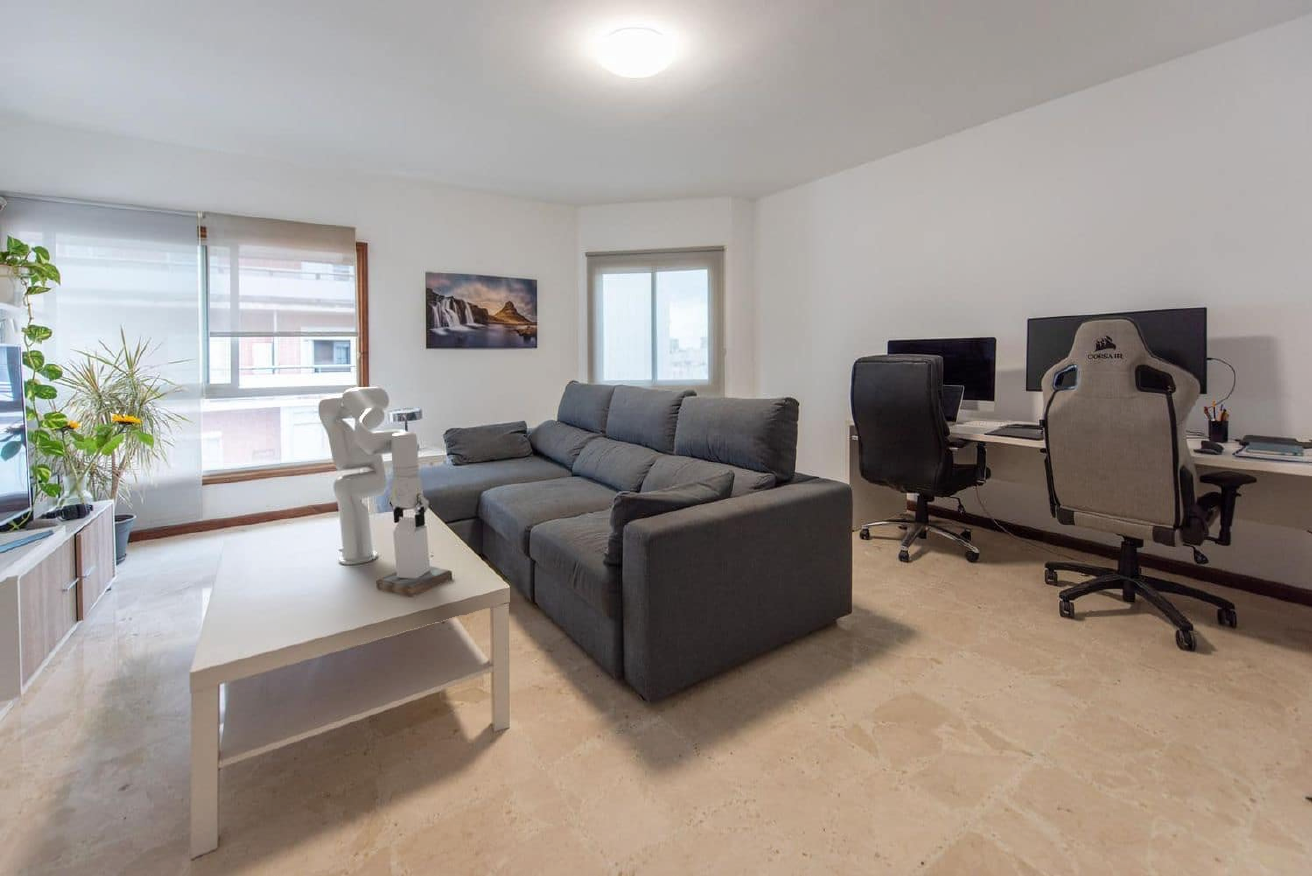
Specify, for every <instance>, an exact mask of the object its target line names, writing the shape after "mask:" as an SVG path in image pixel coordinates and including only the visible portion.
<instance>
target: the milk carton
mask: <svg viewBox="0 0 1312 876" xmlns="http://www.w3.org/2000/svg"><path fill="white" fill-rule="evenodd" d="M392 534H393V545H394V557H395V569H396V572H397V577H399V578H413V579H417V578H418V577H420V576H422V575H424V574H425V573H427V572H429V571H430V567H431V566H430V554H429V543H428V539H429V538H428V530H427V526H426V524H425V525H423V526H420V527H416V526H415V516H414V517H410V516H409V517H408V516H404V517H399V522H398V523H396V526H395V528H394V530H393V531H392Z"/></svg>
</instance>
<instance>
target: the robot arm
mask: <svg viewBox="0 0 1312 876" xmlns="http://www.w3.org/2000/svg"><path fill="white" fill-rule="evenodd" d="M389 404H390V398H389V395H388V393H387V392H386V390H385V389H383V388H382V387H380V386H367V387H366V386H365V387H353V388H349V389H346V391H344V392H343V394H337V395H329V396H326V397H324V398H322V399H321V400H320V401H319V402H318V409H317V410H318V416H319V418H320V419H319V420H320V422H321V424H322V425H323V428H324V430H325V431H326V434H327V437H328V443H329V447H330V453H331V458H332V461H333V465H334V467H335V469H336V470H338V471H340V472H342V471H343V472H346V471H347V472H348V471H353V470H361V469H366V471H362V472H355V473H348V474H345V475H344V474H343V475H340V476H339V477H337V478H336V479H335V481H333V491H334V492H333V493H334V495H335V499H336V501H337V509H338V516H339V525H340V535H341V544H342V547H339V549H338V551H339V552H341V553H342V555H341V556H340V557H339V558H338V562H339V563H340V564H342V565H348V566H349V565H359V564H360V565H361V564H363V563H367V562H371V561H373V560H375V559H377V558H378V556H379V555H378V552H377V551H376V550H373V540H372V532H371V530H372V529H371V520H370V519H371V518H370V511H369V508H368V506H366V505H365V504H364V503H363V502H362V501H361V500H364V499H368V498H372V497H378V496H382V495H384V494H385V493H386V492H387V489H388V482H387V481H388V480H387V476H386V470H385V465H384V459H383V455H388V454H391V463H392V465H391V466H392V475H391V480H390V481H391V482H390V494H388V495H387V499H388V501H389V505H390V507H391V511H393V522H394V524H398V522H399V517H405V516H404V509H406V510H412V509H413V512H414V513H415V514H414V518H415V526H416V527H420V526H423V525H425V526H426V519H425V518H426V517H425V514H426V511H427V509H428V507H429V504H430V502H429V500H428V499H426V498H425V496H424V492H423V491H424V490H423V484H422V480H421V479H422V478H421V477H420V468H419V452H418V451H419V450H418V437H417V434H416V433H414V432H413V431H407V430H405V429H403V428H402V429H401V428H396V429H395V428H394V429H385V430H377V431H376V430H375V431H373V430H374V429H377V428H378V427H380V426H381V424H382V423H383V422H384V419H385V412H384V411H385V410H387V409H388V407H389ZM345 419H354V420H355V421H356V422H355V425H354V429H353V427H352V426H351V425H350V424H349V423H348V422H346V421H345ZM372 559H373V560H372Z"/></svg>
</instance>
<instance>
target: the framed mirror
mask: <svg viewBox="0 0 1312 876" xmlns="http://www.w3.org/2000/svg"><path fill="white" fill-rule="evenodd" d="M447 580H448V581H450V580H453V572H452V570H450V569H445V568H439V567H434V566H430V571H429V572H427V573H425V574H424V575H422V576H420V577H418V578H417V579H413V578H399V577H397V571H395V572H393V573H390V574H388V575H386V576H383V577H380V578H378V580H376V581H375V583H376V589H377V588H378V589H377V590H381V591H386V592H391V593H395V594H399V595H402V594H403V596H406V595H407V596H406V597H411V598H413V597H415V596H418V595H419V594H422V593H424V592H426V591H429V590H430V588H431V589H433V588H435V587H437V586H439V584H440V585H442V584H444V583H446V582H448V581H447ZM445 581H446V582H445ZM443 582H444V583H443ZM441 583H442V584H441ZM432 587H433V588H432ZM414 595H415V596H414ZM412 596H413V597H412Z"/></svg>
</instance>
